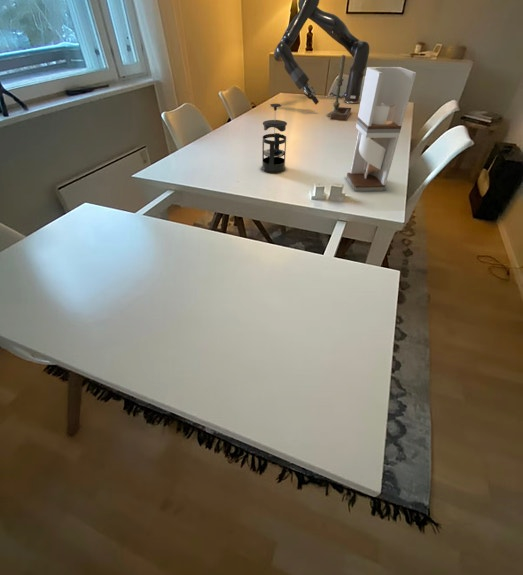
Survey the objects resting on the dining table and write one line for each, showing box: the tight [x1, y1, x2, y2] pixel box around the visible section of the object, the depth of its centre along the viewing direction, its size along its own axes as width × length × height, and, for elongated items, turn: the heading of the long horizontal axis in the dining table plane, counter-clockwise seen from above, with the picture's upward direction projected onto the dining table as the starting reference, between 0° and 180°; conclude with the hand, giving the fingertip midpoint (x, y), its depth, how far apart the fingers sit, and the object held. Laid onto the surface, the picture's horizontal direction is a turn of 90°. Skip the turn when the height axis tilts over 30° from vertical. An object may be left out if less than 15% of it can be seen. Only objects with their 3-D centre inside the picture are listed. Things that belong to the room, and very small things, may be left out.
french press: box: [261, 103, 288, 174], centre depth 120 cm, size 12×9×23 cm
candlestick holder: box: [327, 54, 346, 118], centre depth 180 cm, size 9×9×30 cm
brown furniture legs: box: [330, 106, 352, 122], centre depth 188 cm, size 9×18×3 cm, turn 160°
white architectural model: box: [346, 66, 417, 192], centre depth 105 cm, size 11×11×35 cm
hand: (317, 103), depth 189 cm, fingers closed
